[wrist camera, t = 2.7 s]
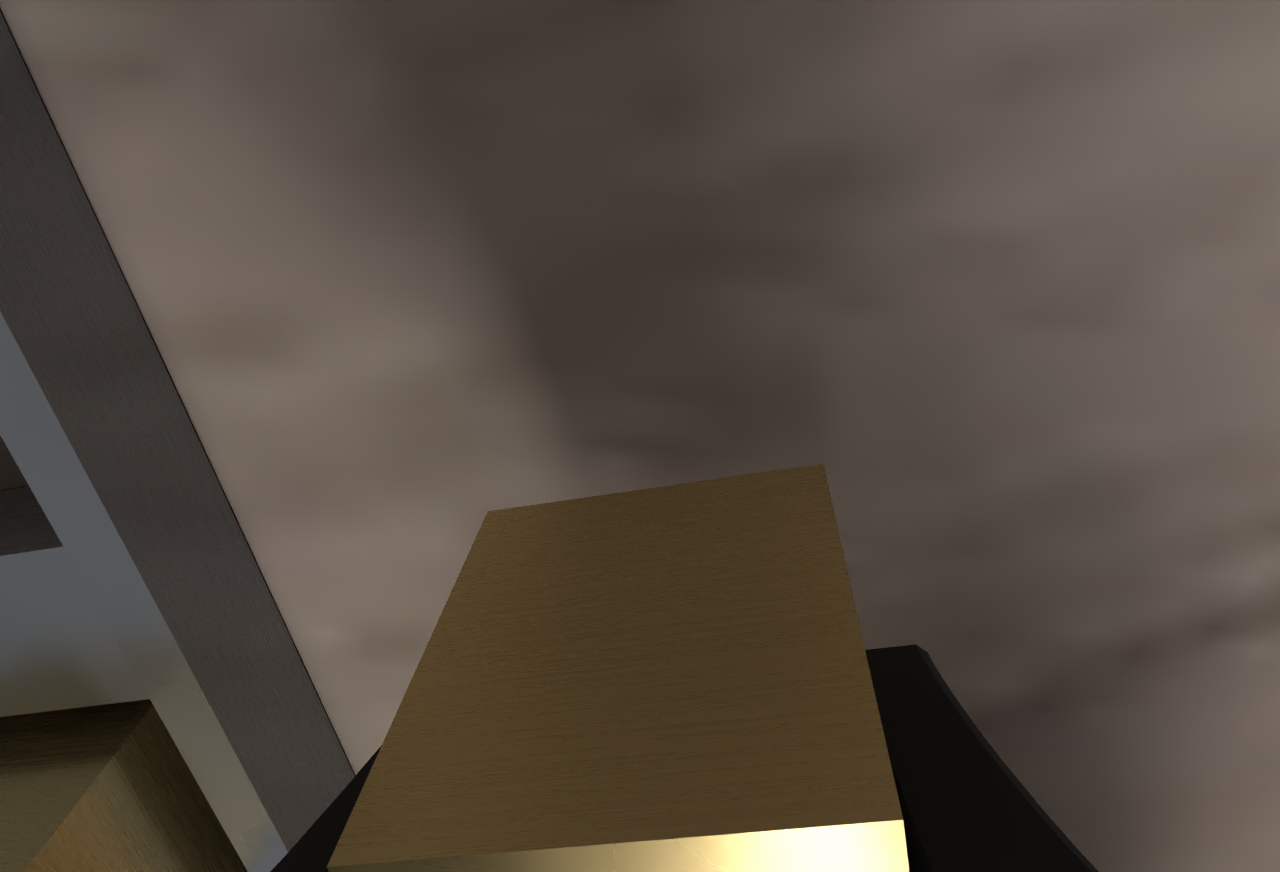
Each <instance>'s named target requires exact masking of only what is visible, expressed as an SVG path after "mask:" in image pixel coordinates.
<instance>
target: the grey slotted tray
mask: <svg viewBox="0 0 1280 872" xmlns="http://www.w3.org/2000/svg"><path fill="white" fill-rule="evenodd" d="M0 436H1V437H2V439H3V441H4V443H5V444H6V446H7V448H8V450H9V451H10V453H11V455H12V457H13V458H14V460H15V462H16V464H17V466H18V467H19V469H20V471H21V473H22V474H23V476H24V478H25V480H26V481H27V483H28V485H29V486H27V487H21V488H15V489H9V490H3V491H0V717H5V716H13V715H21V714H30V713H38V712H46V711H54V710H63V709H71V708H79V707H88V706H96V705H104V704H113V703H121V702H129V701H137V700H146V699H150V700H151V702H152V704H153V705H154V707H155V709H156V711H157V712H158V714H159V716H160V718H161V720H162V721H163V723H164V725H165V727H166V728H167V730H168V732H169V734H170V735H171V737H172V739H173V741H174V742H175V744H176V746H177V748H178V750H179V751H180V753H181V755H182V757H183V758H184V760H185V762H186V764H187V765H188V767H189V769H190V771H191V772H192V774H193V776H194V778H195V779H196V781H197V783H198V785H199V787H200V788H201V790H202V792H203V794H204V795H205V797H206V799H207V801H208V802H209V804H210V806H211V808H212V809H213V811H214V813H215V815H216V817H217V818H218V820H219V822H220V824H221V825H222V827H223V829H224V831H225V832H226V834H227V836H228V838H229V839H230V841H231V843H232V845H233V847H234V848H235V850H236V852H237V854H238V855H239V857H240V859H241V861H242V862H243V864H244V866H245V868H246V869H247V871H248V872H270V871H271V870H272V869H273V868H274V867H275V866H276V865H277V864H278V863H279V862H280V861H281V860H282V859H283V858H284V856H285V855H286V854H287V853H288V852H289V851H290V850H291V849H292V847H293V846H294V845H295V844H296V843H297V842H298V841H299V840H300V838H301V837H302V836H303V835H304V834H305V833H306V832H307V831H308V829H309V828H310V827H311V826H312V825H313V824H314V823H315V821H316V820H317V819H318V818H319V817H320V816H321V815H322V814H323V812H324V811H325V810H326V809H327V808H328V807H329V806H330V804H331V803H332V802H333V801H334V800H335V799H336V798H337V797H338V795H339V794H340V793H341V792H342V791H343V790H344V789H345V787H346V786H347V785H348V784H349V783H350V782H351V780H352V779H353V778H354V777H355V776H354V773H353V771H352V769H351V767H350V765H349V763H348V760H347V758H346V756H345V754H344V752H343V750H342V748H341V745H340V743H339V741H338V739H337V737H336V735H335V732H334V730H333V728H332V726H331V724H330V722H329V719H328V717H327V715H326V713H325V711H324V709H323V707H322V704H321V702H320V700H319V698H318V696H317V694H316V691H315V689H314V687H313V685H312V683H311V681H310V679H309V676H308V674H307V672H306V670H305V668H304V666H303V663H302V661H301V659H300V657H299V655H298V653H297V650H296V648H295V646H294V644H293V642H292V640H291V638H290V635H289V633H288V631H287V629H286V627H285V625H284V622H283V620H282V618H281V616H280V614H279V612H278V610H277V607H276V605H275V603H274V601H273V599H272V597H271V594H270V592H269V590H268V588H267V586H266V584H265V581H264V579H263V577H262V575H261V573H260V571H259V569H258V566H257V564H256V562H255V560H254V558H253V556H252V553H251V551H250V549H249V547H248V545H247V543H246V541H245V538H244V536H243V534H242V532H241V530H240V528H239V525H238V523H237V521H236V519H235V517H234V515H233V512H232V510H231V508H230V506H229V504H228V502H227V500H226V497H225V495H224V493H223V491H222V489H221V487H220V484H219V482H218V480H217V478H216V476H215V474H214V472H213V469H212V467H211V465H210V463H209V461H208V459H207V456H206V454H205V452H204V450H203V448H202V446H201V443H200V441H199V439H198V437H197V435H196V433H195V431H194V428H193V426H192V424H191V422H190V420H189V418H188V415H187V413H186V411H185V409H184V407H183V405H182V403H181V400H180V398H179V396H178V394H177V392H176V390H175V387H174V385H173V383H172V381H171V379H170V377H169V374H168V372H167V370H166V368H165V366H164V364H163V362H162V359H161V357H160V355H159V353H158V351H157V349H156V346H155V344H154V342H153V340H152V338H151V336H150V334H149V331H148V329H147V327H146V325H145V323H144V321H143V318H142V316H141V314H140V312H139V310H138V308H137V305H136V303H135V301H134V299H133V297H132V295H131V293H130V290H129V288H128V286H127V284H126V282H125V280H124V277H123V275H122V273H121V271H120V269H119V267H118V265H117V262H116V260H115V258H114V256H113V254H112V252H111V249H110V247H109V245H108V243H107V241H106V239H105V236H104V234H103V232H102V230H101V228H100V226H99V224H98V221H97V219H96V217H95V215H94V213H93V211H92V208H91V206H90V204H89V202H88V200H87V198H86V196H85V193H84V191H83V189H82V187H81V185H80V183H79V180H78V178H77V176H76V174H75V172H74V170H73V167H72V165H71V163H70V161H69V159H68V157H67V155H66V152H65V150H64V148H63V146H62V144H61V142H60V139H59V137H58V135H57V133H56V131H55V129H54V126H53V124H52V122H51V120H50V118H49V116H48V114H47V111H46V109H45V107H44V105H43V103H42V101H41V98H40V96H39V94H38V92H37V90H36V88H35V86H34V83H33V81H32V79H31V77H30V75H29V73H28V70H27V68H26V66H25V64H24V62H23V60H22V57H21V55H20V53H19V51H18V49H17V47H16V45H15V42H14V40H13V38H12V36H11V34H10V32H9V29H8V27H7V25H6V23H5V21H4V19H3V17H2V14H1V12H0Z"/></svg>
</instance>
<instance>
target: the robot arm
mask: <svg viewBox="0 0 1280 872" xmlns="http://www.w3.org/2000/svg"><path fill="white" fill-rule="evenodd" d="M865 652H866V657H867V661H868V665H869V670H870V674H871V679H872V683H873V688H874V692H875V696H876V701H877V705H878V710H879V714H880V719H881V723H882V727H883V732H884V736H885V741H886V745H887V750H888V754H889V758H890V763H891V767H892V772H893V776H894V781H895V785H896V789H897V794H898V798H899V803H900V807H901V812H902V816H903V821H904V830H905V838H906V847H907V856H908V864H909V872H1098V871H1097V870H1096V869H1095V867H1094V866H1093V865H1092V864H1091V863H1090V862H1089V861H1088V860H1087V859H1086V858H1085V857H1084V856H1083V855H1082V854H1081V852H1080V851H1079V850H1078V849H1077V848H1076V847H1075V846H1074V845H1073V844H1072V842H1071V841H1070V840H1069V839H1068V838H1067V837H1066V836H1065V835H1064V833H1063V832H1062V831H1061V830H1060V829H1059V828H1058V827H1057V825H1056V824H1055V823H1054V822H1053V821H1052V820H1051V819H1050V818H1049V816H1048V815H1047V814H1046V813H1045V812H1044V810H1043V809H1042V808H1041V807H1040V806H1039V804H1038V803H1037V802H1036V801H1035V800H1034V798H1033V797H1032V796H1031V795H1030V794H1029V792H1028V791H1027V790H1026V789H1025V788H1024V786H1023V785H1022V784H1021V783H1020V782H1019V780H1018V779H1017V778H1016V777H1015V776H1014V774H1013V773H1012V772H1011V771H1010V769H1009V768H1008V767H1007V766H1006V765H1005V763H1004V762H1003V761H1002V760H1001V758H1000V757H999V756H998V754H997V753H996V752H995V751H994V749H993V748H992V747H991V746H990V744H989V743H988V742H987V740H986V739H985V738H984V736H983V735H982V734H981V732H980V731H979V730H978V728H977V727H976V726H975V724H974V723H973V721H972V720H971V719H970V717H969V716H968V715H967V713H966V712H965V711H964V709H963V708H962V706H961V705H960V703H959V702H958V701H957V699H956V698H955V696H954V695H953V693H952V692H951V690H950V689H949V687H948V686H947V684H946V683H945V681H944V680H943V678H942V676H941V675H940V673H939V672H938V670H937V668H936V667H935V665H934V663H933V662H932V660H931V658H930V656H929V654H928V653H927V652H926V651H924V650H923V649H921V648H920V647H919V646H917V645H907V646H898V647H889V648H880V649H871V650H865ZM380 748H381V747H380ZM380 748H379V749H378V750H377V751H376V753H375V754H374V755H373V756H372V757H371V758H370V760H369V761H368V762H367V763H366V764H365V765H364V767H363V768H362V769H361V770H360V771H359V772H358V774H357V775H356V776H355V777H354V778H353V779H352V780H351V782H350V783H349V784H348V785H347V786H346V787H345V789H344V790H343V791H342V792H341V793H340V794H339V795H338V797H337V798H336V799H335V800H334V801H333V802H332V803H331V804H330V806H329V807H328V808H327V809H326V810H325V811H324V812H323V814H322V815H321V816H320V817H319V818H318V819H317V820H316V821H315V823H314V824H313V825H312V826H311V827H310V828H309V829H308V831H307V832H306V833H305V834H304V835H303V836H302V837H301V838H300V840H299V841H298V842H297V843H296V844H295V845H294V846H293V847H292V849H291V850H290V851H289V852H288V853H287V854H286V855H285V856H284V858H283V859H282V860H281V861H280V862H279V863H278V864H277V865H276V866H275V867H274V868H273V869H272V870H271V871H270V872H329V871H328V869H327V865H328V863H329V861H330V859H331V857H332V854H333V852H334V850H335V848H336V845H337V843H338V841H339V839H340V837H341V834H342V832H343V830H344V828H345V826H346V823H347V821H348V819H349V817H350V815H351V812H352V810H353V808H354V806H355V804H356V801H357V799H358V797H359V795H360V792H361V790H362V788H363V786H364V784H365V781H366V779H367V777H368V775H369V773H370V770H371V768H372V766H373V764H374V762H375V759H376V757H377V755H378V753H379V751H380Z"/></svg>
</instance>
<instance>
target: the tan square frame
mask: <svg viewBox="0 0 1280 872" xmlns="http://www.w3.org/2000/svg"><path fill="white" fill-rule="evenodd" d="M0 872H248V871H247V869H246V868H245V866H244V864H243V862H242V861H241V859H240V857H239V855H238V854H237V852H236V850H235V848H234V847H233V845H232V843H231V841H230V839H229V838H228V836H227V834H226V832H225V831H224V829H223V827H222V825H221V824H220V822H219V820H218V818H217V817H216V815H215V813H214V811H213V809H212V808H211V806H210V804H209V802H208V801H207V799H206V797H205V795H204V794H203V792H202V790H201V788H200V787H199V785H198V783H197V781H196V779H195V778H194V776H193V774H192V772H191V771H190V769H189V767H188V765H187V764H186V762H185V760H184V758H183V757H182V755H181V753H180V751H179V750H178V748H177V746H176V744H175V742H174V741H173V739H172V737H171V735H170V734H169V732H168V730H167V728H166V727H165V725H164V723H163V721H162V720H161V718H160V716H159V714H158V712H157V711H156V709H155V707H154V705H153V704H152V702H151V700H150V699H146V700H137V701H129V702H121V703H113V704H104V705H96V706H88V707H79V708H71V709H63V710H54V711H46V712H38V713H30V714H21V715H13V716H5V717H0Z"/></svg>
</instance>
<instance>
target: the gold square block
mask: <svg viewBox="0 0 1280 872" xmlns="http://www.w3.org/2000/svg"><path fill="white" fill-rule="evenodd" d="M327 869H328V871H329V872H909V864H908V856H907V847H906V838H905V830H904V821H903V816H902V812H901V807H900V803H899V798H898V794H897V789H896V785H895V781H894V776H893V772H892V767H891V763H890V758H889V754H888V750H887V745H886V741H885V736H884V732H883V727H882V723H881V719H880V714H879V710H878V705H877V701H876V696H875V692H874V688H873V683H872V679H871V674H870V670H869V665H868V661H867V657H866V652H865V648H864V643H863V639H862V634H861V630H860V626H859V621H858V617H857V612H856V608H855V603H854V599H853V595H852V590H851V586H850V581H849V577H848V572H847V568H846V564H845V559H844V555H843V550H842V546H841V541H840V537H839V533H838V528H837V524H836V519H835V515H834V510H833V506H832V501H831V497H830V493H829V488H828V484H827V479H826V475H825V470H824V466H823V464H816V465H809V466H802V467H795V468H788V469H782V470H775V471H768V472H761V473H754V474H747V475H740V476H733V477H726V478H719V479H712V480H705V481H698V482H691V483H684V484H677V485H670V486H663V487H656V488H649V489H642V490H635V491H628V492H621V493H614V494H607V495H600V496H593V497H586V498H579V499H572V500H565V501H558V502H551V503H544V504H537V505H530V506H523V507H517V508H510V509H503V510H496V511H489V512H487V514H486V516H485V519H484V521H483V523H482V525H481V528H480V530H479V532H478V534H477V536H476V539H475V541H474V543H473V545H472V547H471V550H470V552H469V554H468V556H467V558H466V561H465V563H464V565H463V567H462V569H461V572H460V574H459V576H458V578H457V581H456V583H455V585H454V587H453V589H452V592H451V594H450V596H449V598H448V600H447V603H446V605H445V607H444V609H443V611H442V614H441V616H440V618H439V620H438V622H437V625H436V627H435V629H434V631H433V634H432V636H431V638H430V640H429V642H428V645H427V647H426V649H425V651H424V653H423V656H422V658H421V660H420V662H419V664H418V667H417V669H416V671H415V673H414V675H413V678H412V680H411V682H410V684H409V687H408V689H407V691H406V693H405V695H404V698H403V700H402V702H401V704H400V706H399V709H398V711H397V713H396V715H395V717H394V720H393V722H392V724H391V726H390V728H389V731H388V733H387V735H386V737H385V739H384V742H383V744H382V746H381V748H380V751H379V753H378V755H377V757H376V759H375V762H374V764H373V766H372V768H371V770H370V773H369V775H368V777H367V779H366V781H365V784H364V786H363V788H362V790H361V792H360V795H359V797H358V799H357V801H356V804H355V806H354V808H353V810H352V812H351V815H350V817H349V819H348V821H347V823H346V826H345V828H344V830H343V832H342V834H341V837H340V839H339V841H338V843H337V845H336V848H335V850H334V852H333V854H332V857H331V859H330V861H329V863H328V865H327Z"/></svg>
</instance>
